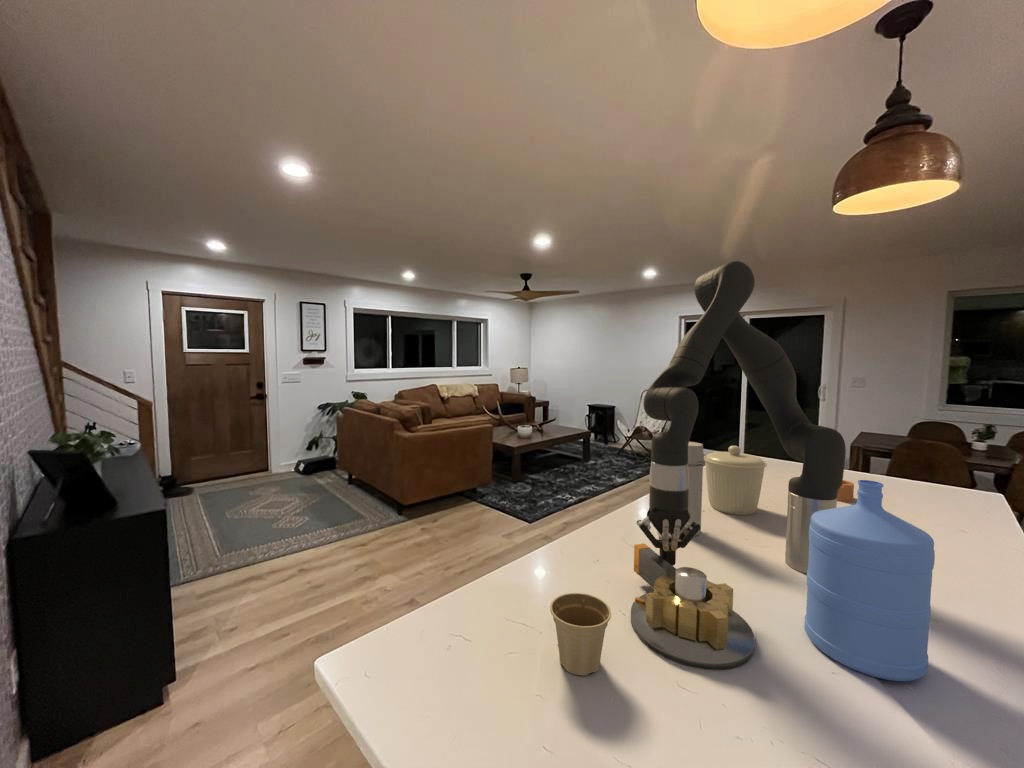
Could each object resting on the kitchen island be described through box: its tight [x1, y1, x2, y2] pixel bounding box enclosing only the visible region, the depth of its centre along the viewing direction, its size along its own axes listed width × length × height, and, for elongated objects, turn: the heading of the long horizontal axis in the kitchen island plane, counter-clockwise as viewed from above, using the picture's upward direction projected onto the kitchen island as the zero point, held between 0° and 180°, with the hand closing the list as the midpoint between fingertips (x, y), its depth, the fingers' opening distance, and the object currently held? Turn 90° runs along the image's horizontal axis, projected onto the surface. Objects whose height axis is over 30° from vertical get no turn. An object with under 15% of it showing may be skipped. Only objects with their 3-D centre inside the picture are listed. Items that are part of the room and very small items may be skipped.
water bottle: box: [680, 441, 706, 537], centre depth 118 cm, size 9×8×25 cm
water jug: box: [804, 479, 936, 682], centre depth 69 cm, size 16×16×28 cm
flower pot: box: [549, 592, 612, 676], centre depth 66 cm, size 9×9×9 cm
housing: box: [630, 566, 756, 671], centre depth 74 cm, size 20×20×10 cm
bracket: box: [837, 479, 855, 503], centre depth 151 cm, size 18×8×7 cm, turn 160°
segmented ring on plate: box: [633, 543, 734, 649], centre depth 78 cm, size 16×24×6 cm, turn 33°
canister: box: [704, 445, 768, 516], centre depth 135 cm, size 18×18×21 cm
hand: (667, 566), depth 87 cm, fingers closed
